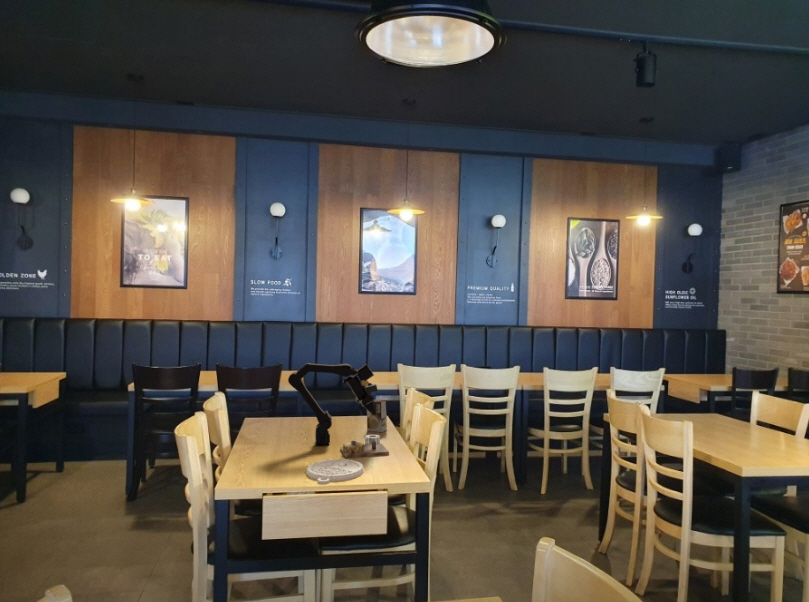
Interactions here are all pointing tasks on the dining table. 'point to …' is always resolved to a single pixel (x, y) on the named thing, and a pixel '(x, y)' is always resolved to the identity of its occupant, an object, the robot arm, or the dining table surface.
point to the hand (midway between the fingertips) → (373, 413)
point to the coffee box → (377, 417)
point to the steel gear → (372, 439)
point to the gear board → (363, 450)
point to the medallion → (334, 470)
